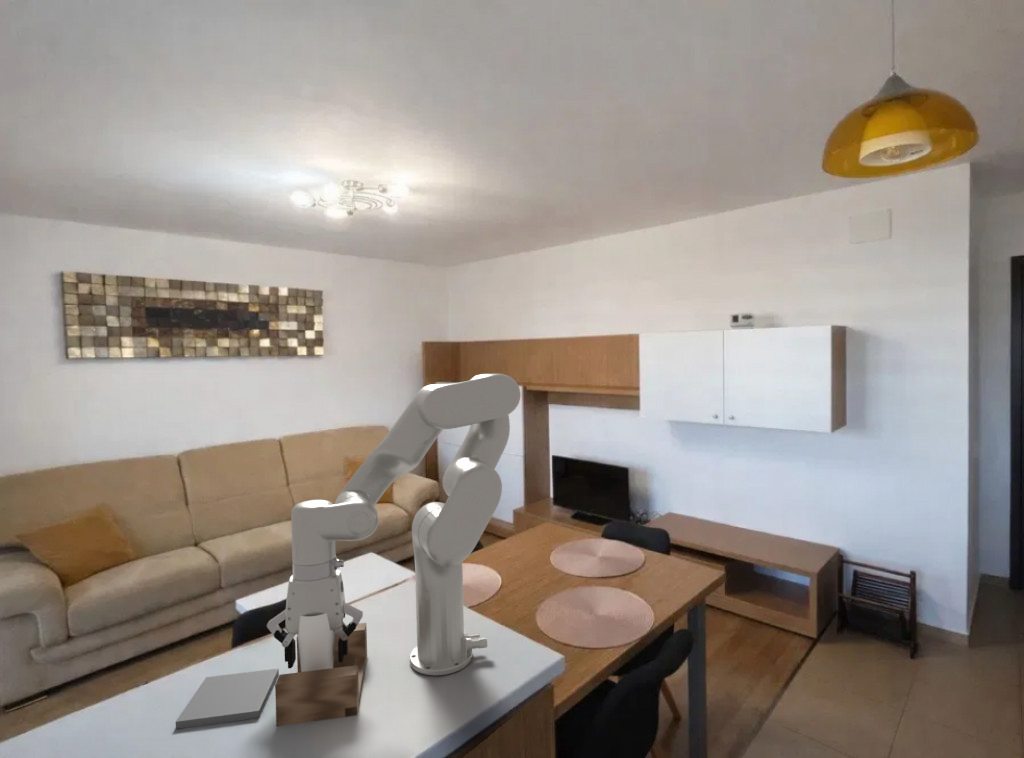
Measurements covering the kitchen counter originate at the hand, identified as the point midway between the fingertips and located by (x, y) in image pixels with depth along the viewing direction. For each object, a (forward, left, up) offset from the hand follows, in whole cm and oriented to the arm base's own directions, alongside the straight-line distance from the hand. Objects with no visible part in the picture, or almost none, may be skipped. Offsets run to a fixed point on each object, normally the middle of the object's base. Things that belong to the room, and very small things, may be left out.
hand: (317, 661), depth 97 cm
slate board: (+15, 0, -5) cm, 16 cm away
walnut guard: (-2, 0, -5) cm, 5 cm away
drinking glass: (0, 0, -5) cm, 5 cm away
